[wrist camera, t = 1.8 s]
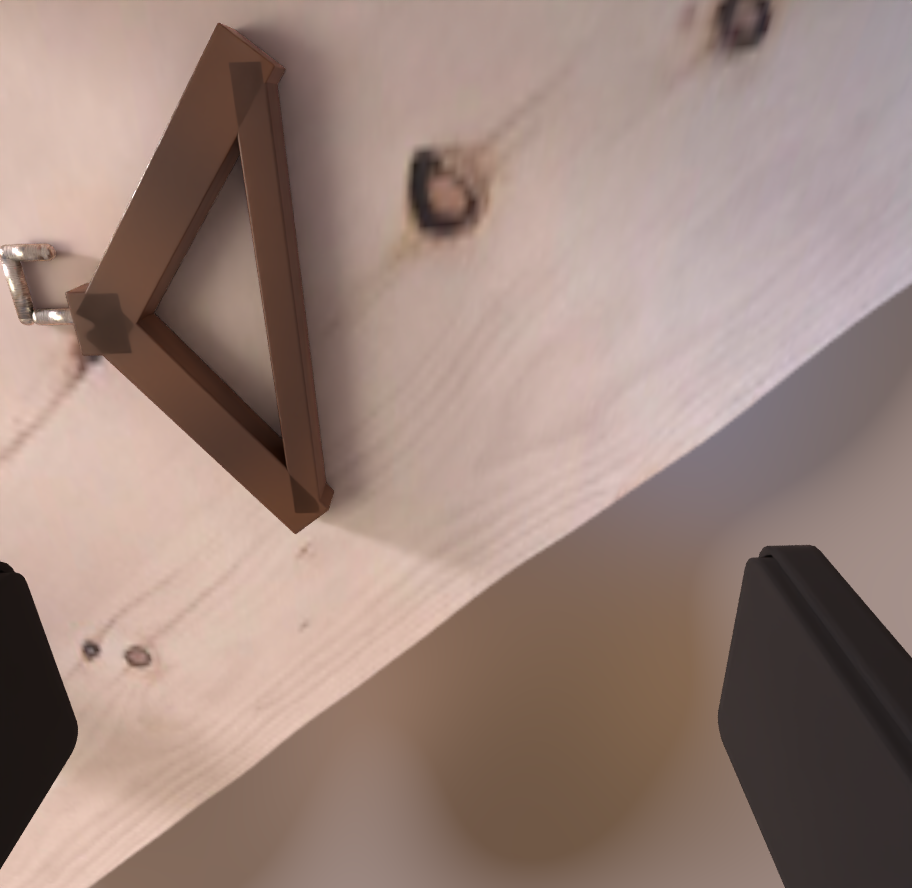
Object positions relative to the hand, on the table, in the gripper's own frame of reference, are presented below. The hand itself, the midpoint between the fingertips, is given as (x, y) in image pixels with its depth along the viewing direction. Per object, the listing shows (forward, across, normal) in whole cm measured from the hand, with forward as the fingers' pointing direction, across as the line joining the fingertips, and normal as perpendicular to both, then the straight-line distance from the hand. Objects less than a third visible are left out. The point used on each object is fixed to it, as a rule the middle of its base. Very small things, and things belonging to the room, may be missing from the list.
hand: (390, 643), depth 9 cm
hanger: (+19, +10, 0) cm, 21 cm away
